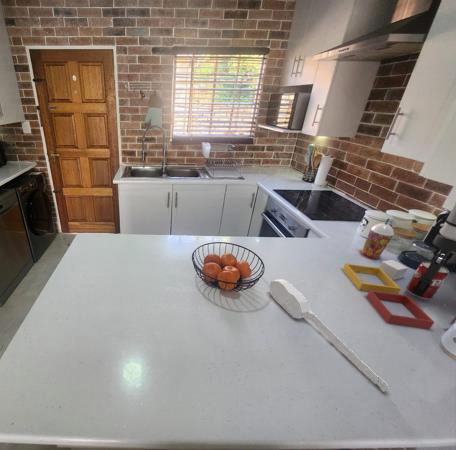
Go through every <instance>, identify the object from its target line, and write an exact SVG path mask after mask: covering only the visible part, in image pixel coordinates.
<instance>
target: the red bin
mask: <svg viewBox="0 0 456 450" xmlns="http://www.w3.org/2000/svg"><path fill="white" fill-rule="evenodd" d="M365 298H366V299H367V300H368V301H369V303H370V304H371V305H372V306H373V307H374V309H375V310H376V311H377V313H379V315H380V316H381V317H382V318H383V320H384V321H385V322H386V323H387V324H393V325H399V326H406V327H413V328H419V329H425V330H430V329H431V328H432V327H433V325H434V324H435V321H434V320H433V319H432V318H431V317H430V316H429V315H428V314H427V313H426V312H425V311H424V310H423V309H421V307H420V306H418V304H416V302H415V301H413V300H412V298H411V297H410V296H409V295H405V294H399V293H398V294H392V293H385V292H378V291H368V293H367V294H366V297H365ZM382 301H385V302H392V303H396V304H397V303H398V304H402V305H404V307H405V308H406V309H407V310H408V311H409V312H410V313H411V314H412V315H413V316H414V317H412V316H404V315H398V314H393V313H391V311H390V310H389V309H388V308H387V306H385V304H384V303H383V302H382Z"/></svg>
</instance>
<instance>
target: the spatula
mask: <svg viewBox="0 0 456 450" xmlns="http://www.w3.org/2000/svg"><path fill="white" fill-rule="evenodd" d="M268 288H269V290H270V295H271V297H273V298H272V299H274V301H276V302H277V303H278V305H280V306H281V307H282V308H283V309H284V310H285V311H286V313H288V314H289V315H290V316H291V317H292V318H294V319H299V320H300V319H303V318H305V319H307V320H308V321H311V323H313V324H314V325H315V326H316V328H318V330H319V331H321V333H322V334H323V335H324V336H326V338H327V339H328V340H330V341H331V342H332V344H333V345H334V346H335V347H336V348H337V349H338V350H339V351H340V352H341V353H342V354H343V355H344V356H345V357H346V358H347V359H348V360H349V362H351V363H352V364H353V365H354V366H355V367H356V368H357V369H358V370H359V371H360V372H361V373H362V374H363V375H364V376H365V377H367V378H368V380H370V381H371V382H372V383H373V384H374V385H376V384H377V385H378V387H379V389H380V390H381V391H382V392H383V393H384V392H386V391H387V390H388V389H389V384H388V383H387V382H386V381H385V380H384V379H383V378H381V376H379V375H377V374H376V373H375V372H374V371H373V370H372V369H371V368H370V367H369V366H368V365H367V364H366V363H365V362H364V361H363V360H362V359H361V358H360V357H359V356H358V355H357V354H356V353H354V351H353V350H352V349H351V348H350V347H349V346H347V345H346V343H345V342H344V341H342V339H340V338H339V337H338V336H337V334H335V333H334V332H333V330H331V329H330V328H329V327H328V326H327V325H326V324H325V323H324V322H323V321H322V320H321V319H320V318H319V317H318V316H317V315H316V314H315V313H314V312H313V311H312V310H311V306H310V304H309V300H308V299H307V298H306V297H305V295H304V294H303V293H302V292H300V291H299V290H298V289H296V287H295V286H294V285H293V284H292V283H291V282H290V281H288V280H286V279H276V280H271V281H270V283H269V286H268Z"/></svg>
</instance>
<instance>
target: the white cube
mask: <svg viewBox="0 0 456 450" xmlns="http://www.w3.org/2000/svg"><path fill="white" fill-rule="evenodd" d="M378 268H380V269H381V270H382V271H383V272H384V273H386V274H387V275H388V276H389V277H390V278H391V279H392V280H393V281H394V280H399V279H402V278H403V277H404V276H405V273H407V271H408V269H409V267H408V266H406V265H404V264H401V263H400V262H398V261H396V260H394V259H387V260H382V262H381V263H380V265H379V267H378Z"/></svg>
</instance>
